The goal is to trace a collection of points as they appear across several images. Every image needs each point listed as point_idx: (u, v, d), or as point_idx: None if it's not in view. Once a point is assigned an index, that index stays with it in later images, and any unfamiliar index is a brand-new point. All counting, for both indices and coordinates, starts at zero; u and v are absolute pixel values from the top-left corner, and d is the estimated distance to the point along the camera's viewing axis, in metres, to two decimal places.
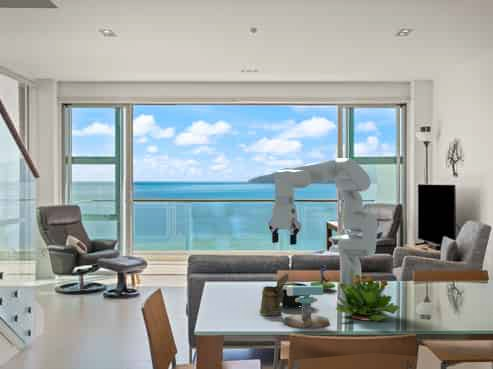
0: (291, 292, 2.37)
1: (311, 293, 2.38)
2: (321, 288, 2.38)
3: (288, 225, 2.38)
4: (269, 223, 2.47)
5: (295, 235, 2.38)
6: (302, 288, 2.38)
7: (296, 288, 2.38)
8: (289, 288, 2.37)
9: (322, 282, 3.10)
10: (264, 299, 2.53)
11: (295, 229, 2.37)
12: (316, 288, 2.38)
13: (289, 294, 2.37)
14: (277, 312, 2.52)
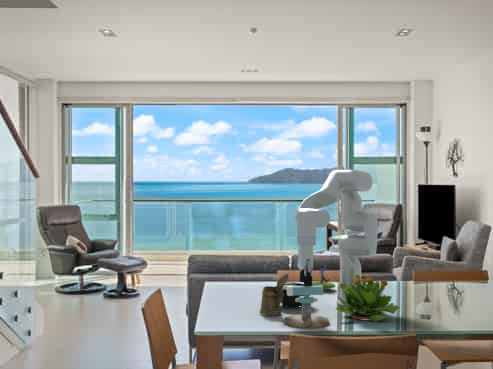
0: (291, 292, 2.37)
1: (311, 293, 2.38)
2: (321, 288, 2.38)
3: None
4: None
5: None
6: (302, 288, 2.38)
7: (296, 288, 2.38)
8: (289, 288, 2.37)
9: (322, 282, 3.10)
10: (264, 299, 2.53)
11: None
12: (316, 288, 2.38)
13: (289, 294, 2.37)
14: (277, 312, 2.52)
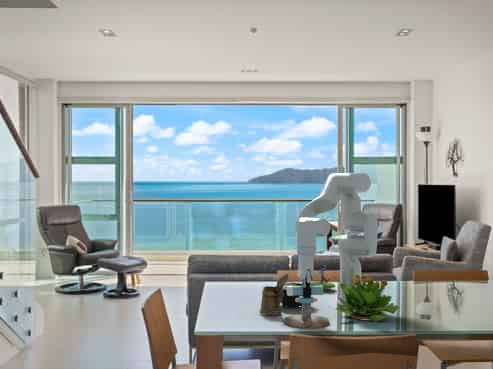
0: (291, 292, 2.37)
1: (311, 293, 2.38)
2: (321, 288, 2.38)
3: None
4: None
5: None
6: (302, 288, 2.38)
7: (296, 288, 2.38)
8: (289, 288, 2.37)
9: (322, 282, 3.10)
10: (264, 299, 2.53)
11: None
12: (316, 288, 2.38)
13: (289, 294, 2.37)
14: (277, 312, 2.52)
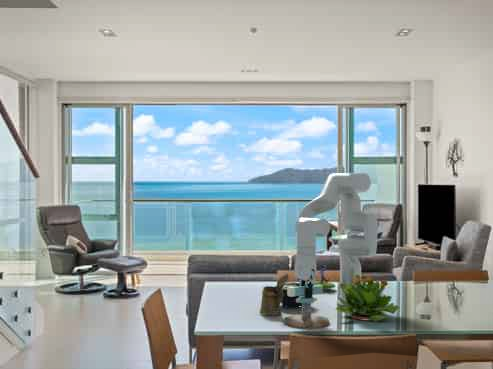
0: (293, 292, 2.36)
1: None
2: (321, 287, 2.40)
3: None
4: None
5: None
6: (303, 288, 2.37)
7: (298, 288, 2.37)
8: (291, 289, 2.36)
9: (322, 282, 3.10)
10: (264, 299, 2.53)
11: (303, 279, 2.43)
12: (316, 288, 2.39)
13: (291, 295, 2.36)
14: (277, 312, 2.52)
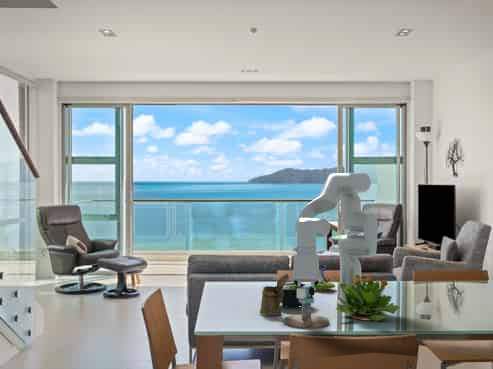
0: (305, 294, 2.33)
1: None
2: None
3: None
4: None
5: (298, 287, 2.40)
6: (308, 288, 2.37)
7: (306, 289, 2.35)
8: (304, 290, 2.32)
9: (322, 282, 3.10)
10: (264, 299, 2.53)
11: None
12: None
13: (304, 297, 2.32)
14: (277, 312, 2.52)
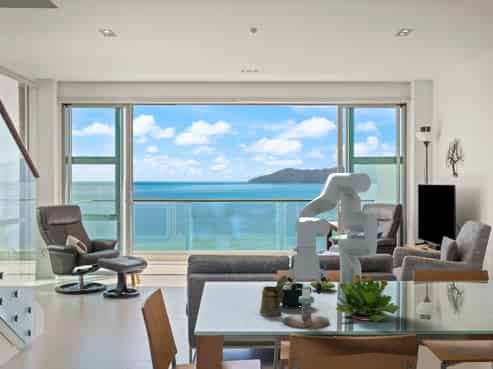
0: None
1: None
2: (309, 285, 2.45)
3: None
4: None
5: None
6: (309, 288, 2.37)
7: (309, 289, 2.35)
8: None
9: None
10: (264, 299, 2.53)
11: None
12: None
13: (310, 297, 2.32)
14: (277, 312, 2.52)
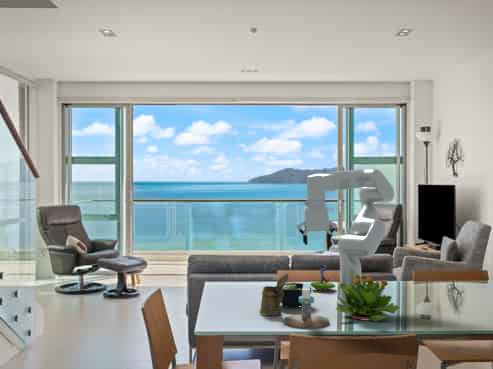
0: None
1: None
2: (309, 285, 2.45)
3: None
4: None
5: (303, 236, 2.56)
6: (309, 288, 2.37)
7: (309, 289, 2.35)
8: None
9: (322, 282, 3.10)
10: (264, 299, 2.53)
11: None
12: None
13: (310, 297, 2.32)
14: (277, 312, 2.52)
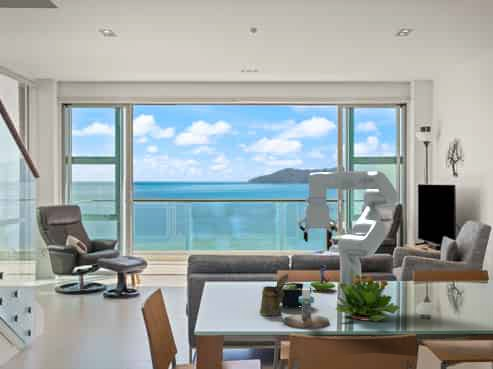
0: None
1: None
2: (309, 285, 2.45)
3: None
4: None
5: None
6: (309, 288, 2.37)
7: (309, 289, 2.35)
8: None
9: (322, 282, 3.10)
10: (264, 299, 2.53)
11: None
12: None
13: (310, 297, 2.32)
14: (277, 312, 2.52)
